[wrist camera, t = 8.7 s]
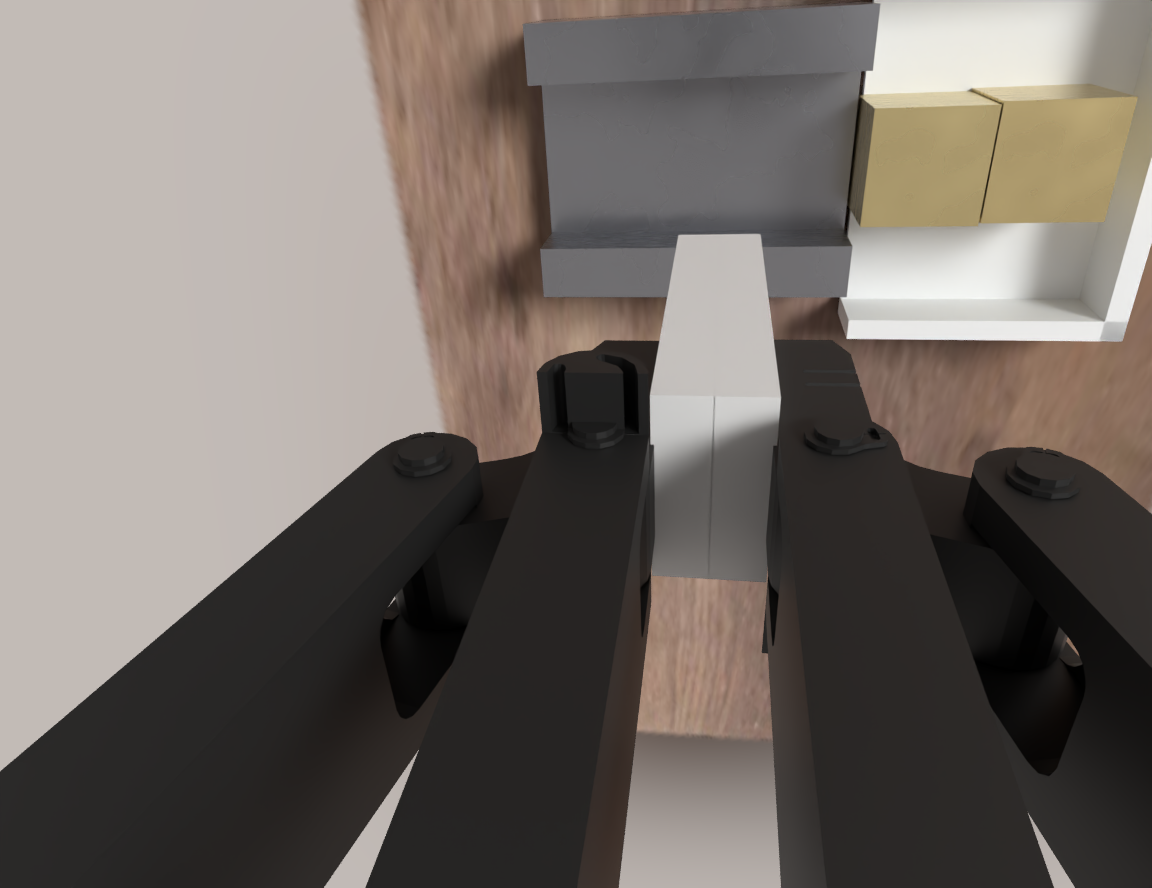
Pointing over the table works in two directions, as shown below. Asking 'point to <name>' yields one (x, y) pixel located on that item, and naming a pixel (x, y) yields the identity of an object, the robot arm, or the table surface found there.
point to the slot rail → (699, 141)
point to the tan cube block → (921, 158)
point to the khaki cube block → (1055, 152)
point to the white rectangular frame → (1009, 250)
